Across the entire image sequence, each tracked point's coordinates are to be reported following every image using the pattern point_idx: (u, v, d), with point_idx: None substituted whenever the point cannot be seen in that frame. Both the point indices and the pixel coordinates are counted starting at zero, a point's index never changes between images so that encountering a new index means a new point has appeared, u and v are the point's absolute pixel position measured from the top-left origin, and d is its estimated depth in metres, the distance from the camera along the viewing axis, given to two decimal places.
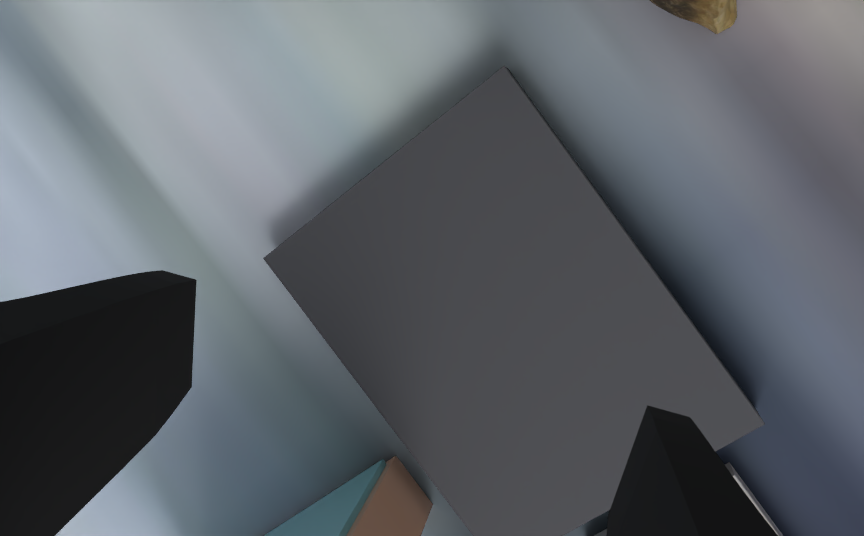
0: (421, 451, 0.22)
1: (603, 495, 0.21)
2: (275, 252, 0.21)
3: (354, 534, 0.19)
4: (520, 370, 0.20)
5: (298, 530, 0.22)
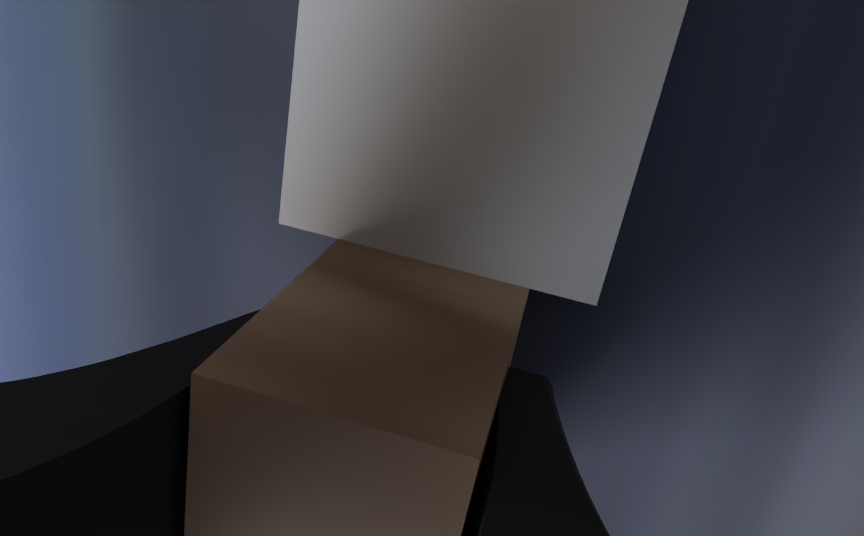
0: None
1: None
2: None
3: None
4: None
5: None
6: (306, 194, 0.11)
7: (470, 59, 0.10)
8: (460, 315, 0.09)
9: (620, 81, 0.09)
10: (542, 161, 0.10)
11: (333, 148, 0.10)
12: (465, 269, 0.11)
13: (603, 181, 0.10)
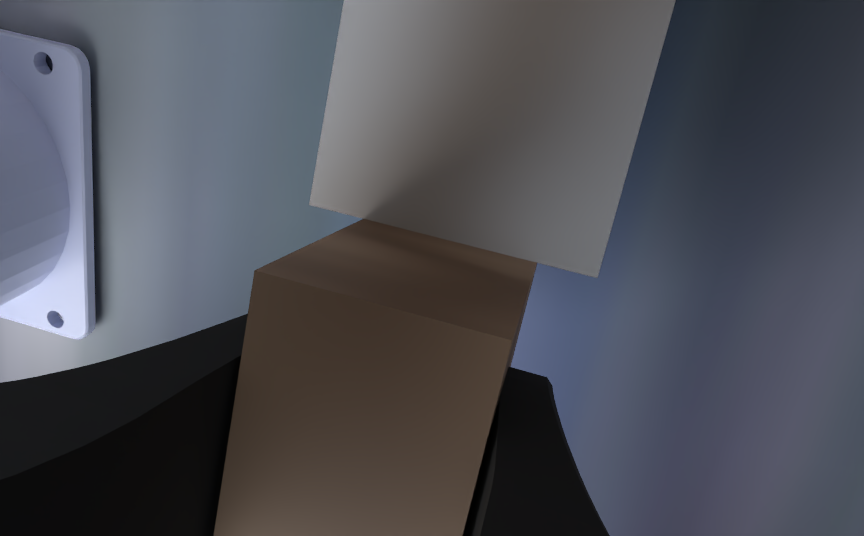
0: None
1: None
2: None
3: None
4: None
5: None
6: (336, 178, 0.12)
7: (488, 55, 0.11)
8: (479, 268, 0.10)
9: (617, 74, 0.11)
10: (550, 144, 0.11)
11: (364, 135, 0.12)
12: (478, 247, 0.12)
13: (603, 162, 0.11)
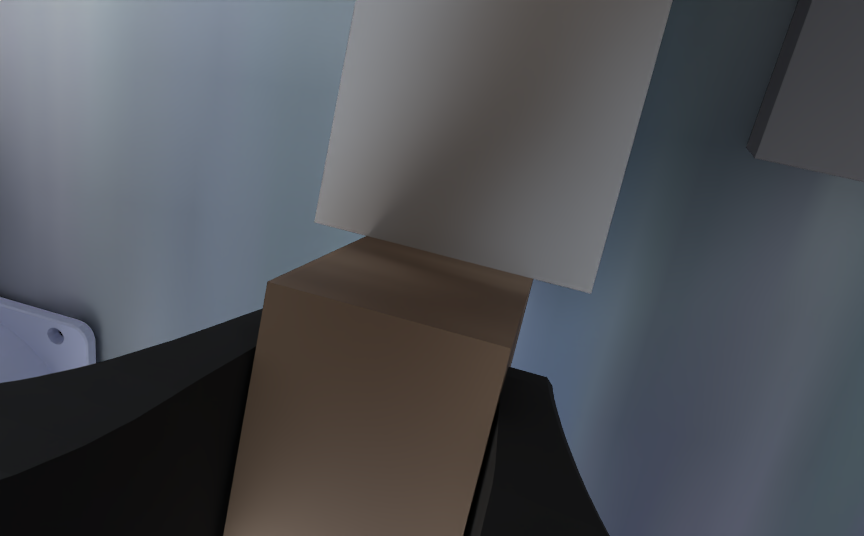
0: None
1: None
2: None
3: None
4: None
5: None
6: (341, 196, 0.13)
7: (487, 81, 0.12)
8: (478, 283, 0.11)
9: (609, 99, 0.11)
10: (546, 165, 0.12)
11: (368, 155, 0.12)
12: (476, 262, 0.12)
13: (596, 183, 0.12)
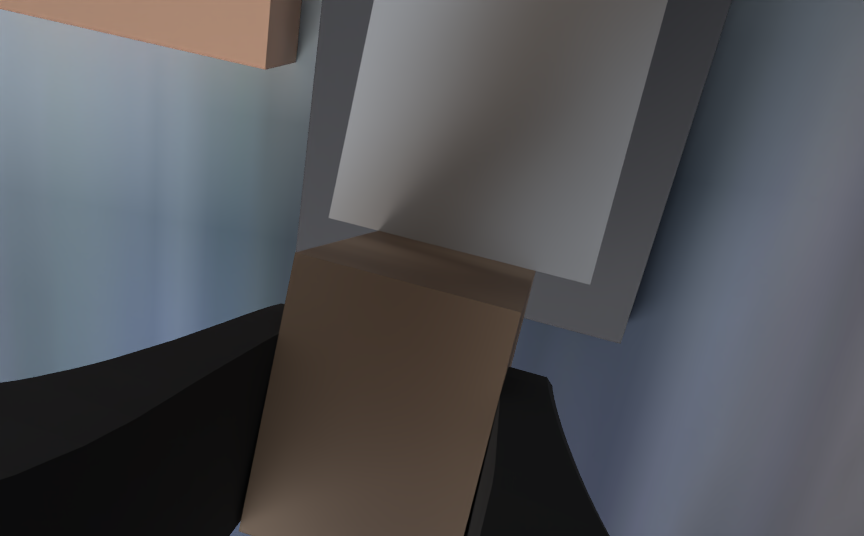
0: (324, 99, 0.18)
1: None
2: None
3: None
4: None
5: None
6: (355, 193, 0.13)
7: (494, 85, 0.13)
8: (485, 269, 0.12)
9: (607, 103, 0.12)
10: (548, 164, 0.13)
11: (381, 154, 0.13)
12: (482, 256, 0.13)
13: (595, 180, 0.12)
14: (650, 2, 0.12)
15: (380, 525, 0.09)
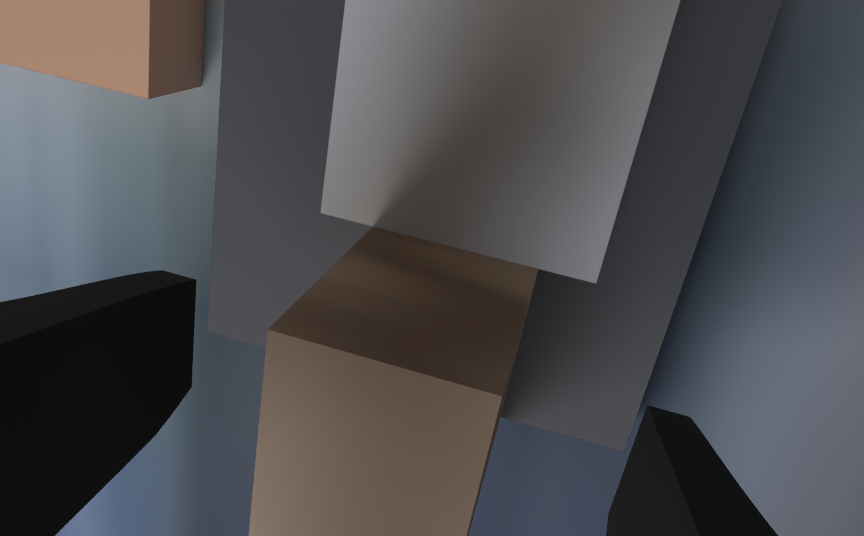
0: (233, 133, 0.14)
1: None
2: None
3: None
4: None
5: None
6: (345, 188, 0.12)
7: (488, 72, 0.11)
8: (480, 288, 0.11)
9: (616, 91, 0.11)
10: (550, 158, 0.11)
11: (369, 148, 0.12)
12: (482, 252, 0.12)
13: (601, 176, 0.11)
14: None
15: None
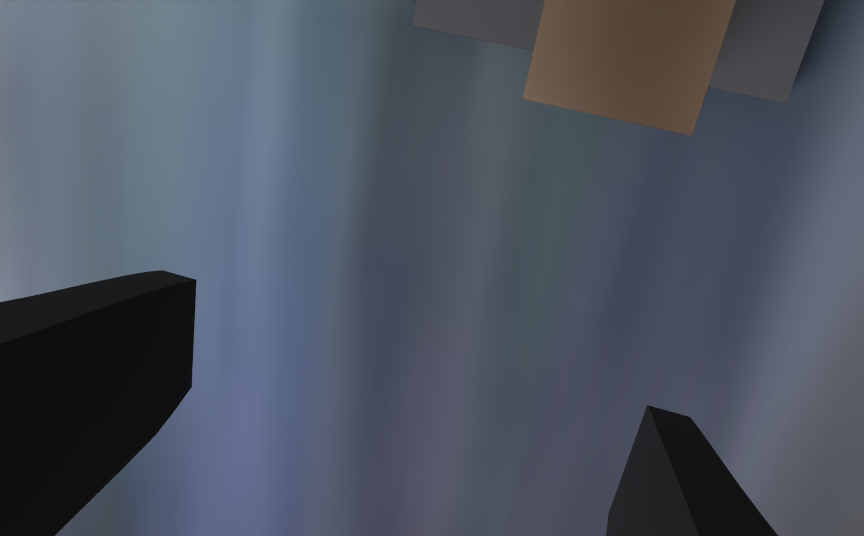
0: None
1: None
2: None
3: None
4: None
5: None
6: None
7: None
8: None
9: None
10: None
11: None
12: None
13: None
14: None
15: (641, 80, 0.12)
